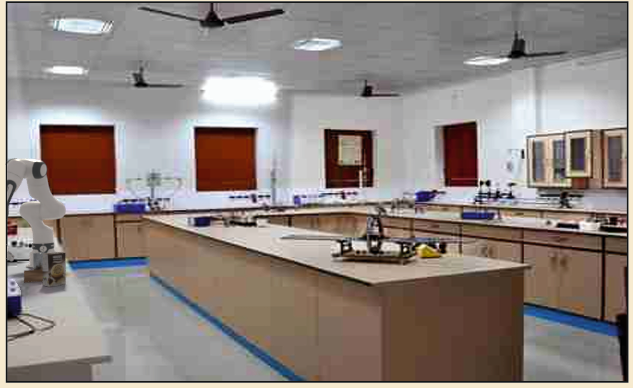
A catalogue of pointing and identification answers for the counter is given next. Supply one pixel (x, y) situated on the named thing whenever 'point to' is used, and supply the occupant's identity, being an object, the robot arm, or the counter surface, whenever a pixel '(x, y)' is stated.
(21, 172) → the robot arm
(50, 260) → the coffee box
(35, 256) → the grey upright block
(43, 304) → the counter surface
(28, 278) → the brown wooden block
